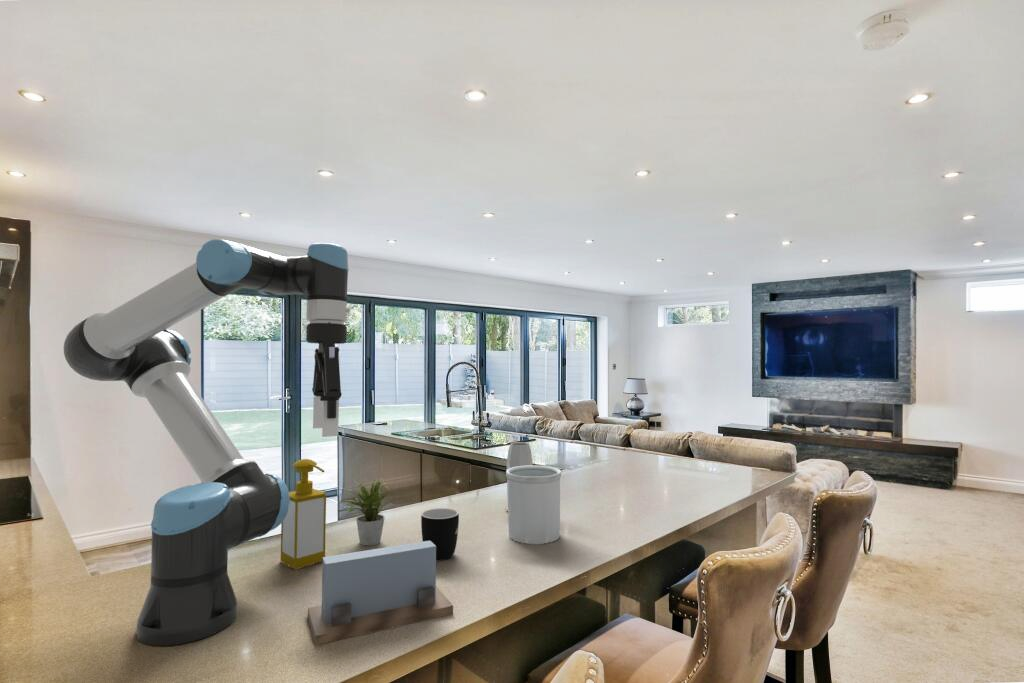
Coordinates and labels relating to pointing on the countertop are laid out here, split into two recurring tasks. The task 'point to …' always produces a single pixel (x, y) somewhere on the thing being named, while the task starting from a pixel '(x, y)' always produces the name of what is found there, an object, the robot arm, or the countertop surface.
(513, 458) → the wineglass
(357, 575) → the door panel
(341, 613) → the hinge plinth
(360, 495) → the house plant
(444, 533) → the mug
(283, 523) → the soap bottle
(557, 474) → the utensil holder
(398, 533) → the countertop surface
